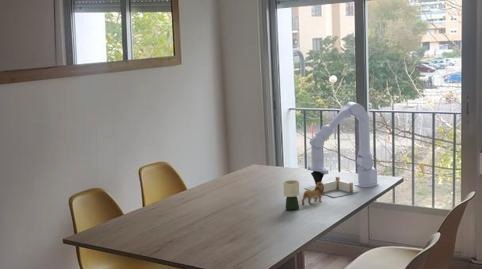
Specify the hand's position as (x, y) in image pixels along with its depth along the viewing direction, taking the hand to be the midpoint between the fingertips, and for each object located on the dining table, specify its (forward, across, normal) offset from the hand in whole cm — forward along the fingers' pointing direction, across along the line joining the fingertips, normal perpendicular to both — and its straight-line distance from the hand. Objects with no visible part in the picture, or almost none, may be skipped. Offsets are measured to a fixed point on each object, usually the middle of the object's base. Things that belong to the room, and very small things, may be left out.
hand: (318, 185), depth 310 cm
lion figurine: (+2, +17, -16) cm, 23 cm away
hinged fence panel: (+1, +6, +1) cm, 7 cm away
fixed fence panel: (+2, +11, +8) cm, 14 cm away
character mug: (+2, +19, -30) cm, 35 cm away
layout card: (+2, +5, +4) cm, 7 cm away
